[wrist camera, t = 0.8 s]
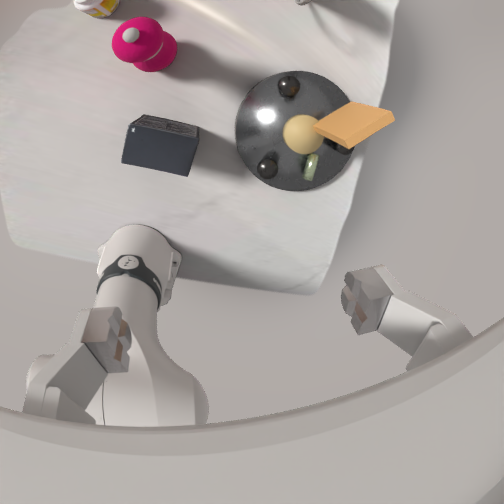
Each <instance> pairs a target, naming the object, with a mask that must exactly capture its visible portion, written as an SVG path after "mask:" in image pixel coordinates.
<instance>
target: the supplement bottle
mask: <svg viewBox="0 0 504 504" xmlns="http://www.w3.org/2000/svg"><path fill="white" fill-rule="evenodd" d="M74 5H75V7H76V8H77V9H78V10H80V11H82V12H85V13H86V14H89V15H91V16H92V17H95V18H104V17H107V16H109V15H111V14H112V13H113V12H114V11H115V10H116V9H117V7H118V5H119V0H74Z"/></svg>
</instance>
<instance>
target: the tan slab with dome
mask: <svg viewBox="0 0 504 504" xmlns="http://www.w3.org/2000/svg"><path fill="white" fill-rule="evenodd" d="M394 120H395V119H394V117H393V114H392V112H391V111H388V110H384V109H381V108H377V107H373V106H369V105H365V104H360V103H356V102H349V103H348V104H346V105H344V106H343V107H341V108H339V109H337V110H336V111H334V112H332V113H331V114H329V115H327V116H326V117H324V118H323V119H321V120H319V121H318V120H317V119H316V118H314V117H311V116H309V115H305V114H298V115H295V116H293V117H291V118H290V119H288V120H287V122H286V123H285V125H284V127H283V139H284V142H285V143H286V145H287V146H288V147H289V148H291V149H292V150H293V151H295V152H297V153H299V154H310V153H312V152H314V151H316V150H317V149H318V148H319V147H320V146H321V144H322V142H323V140H324V136H325V137H327V138H329V139H331V140H333V141H334V142H336V143H338V144H340V145H342V146H344V147H346V148H348V149H350V148H352V147H353V146H355V145H356V144H358V143H360V142H361V141H363V140H364V139H366V138H367V137H369V136H371V135H372V134H374V133H375V132H377V131H379V130H380V129H382V128H383V127H385V126H386V125H388V124H390V123H391V122H393V121H394Z"/></svg>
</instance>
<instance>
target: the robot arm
mask: <svg viewBox="0 0 504 504" xmlns="http://www.w3.org/2000/svg"><path fill="white" fill-rule="evenodd" d="M98 256H99V259H100V262H99V265H98V269H97V274H98V275H99V278H100V279H99V282H98V286H97V297H96V300H95V303H94V306H93V308H92V309H82V310H81V311H80V312H79V314H78V317H77V320H76V323H75V326H74V329H73V332H72V335H71V338H70V341H69V343H68V344H65V345H64V346H63V347H62V348H61V349H60V350H59V351H58V352H57V353H56V354H53V355H40V356H38V357H37V358H36V359H35V360H34V361H33V363H32V364H31V366H30V368H29V371H28V374H27V379H26V390H27V394H26V398H25V402H24V407H23V411H22V412H18V411H14V410H11V409H7V408H3V407H0V504H504V318H502V319H501V320H499V321H498V322H497V323H495V324H493V325H492V326H490V327H489V328H487V329H486V330H484V331H483V332H481V333H480V334H478V335H477V336H475V337H473V336H472V335H471V333H470V332H469V331H468V329H467V328H466V327H465V325H464V324H463V323H462V321H461V320H460V319H459V317H458V316H457V315H456V314H454V313H452V312H450V311H448V310H446V309H444V308H442V307H440V306H438V305H436V304H434V303H432V302H430V301H428V300H426V299H424V298H422V297H420V296H418V295H416V294H414V293H412V292H410V291H405V290H404V289H403V288H402V286H401V285H400V284H399V283H398V281H397V280H396V279H395V278H394V277H393V275H392V274H391V273H390V272H389V270H388V269H387V268H386V267H385V266H384V265H378V266H373V267H370V268H365V269H360V270H355V271H350V272H347V273H346V275H345V279H344V281H345V283H346V284H347V285H346V286H345V287H344V288H343V289H342V294H341V302H342V306H343V309H344V311H345V313H346V314H348V315H350V316H351V317H352V319H351V323H352V325H353V327H354V329H355V330H356V332H357V334H358V335H361V334H364V333H368V332H372V331H376V330H377V331H378V332H379V333H381V334H382V335H383V336H385V337H386V338H387V339H389V340H390V341H392V342H393V343H394V344H396V345H397V346H399V347H400V348H401V349H403V350H404V351H405V352H407V353H408V354H410V355H411V356H412V358H411V360H410V361H409V363H408V364H407V366H406V370H407V372H405V373H403V374H400V375H398V376H396V377H393V378H391V379H389V380H386V381H383V382H381V383H378V384H376V385H373V386H370V387H367V388H365V389H362V390H359V391H356V392H353V393H350V394H347V395H344V396H341V397H337V398H334V399H331V400H327V401H324V402H321V403H317V404H313V405H309V406H305V407H301V408H297V409H293V410H289V411H284V412H280V413H275V414H270V415H265V416H259V417H254V418H247V419H241V420H234V421H226V422H218V423H210V424H206V422H207V419H208V413H209V406H208V399H207V396H206V393H205V391H204V389H203V387H202V385H201V384H200V383H199V381H198V380H197V379H196V378H195V377H194V376H193V375H192V374H191V373H189V372H187V371H185V370H184V369H182V368H181V367H180V366H178V365H177V364H176V363H175V362H174V361H173V360H172V359H170V357H169V356H168V355H167V354H166V352H165V351H164V350H163V348H162V346H161V344H160V342H159V339H158V335H157V312H158V311H159V310H160V306H163V305H165V304H167V303H168V301H169V300H170V299H171V293H172V288H173V284H174V281H175V278H176V275H177V272H178V269H179V266H180V263H181V259H182V255H181V254H180V253H179V252H178V251H176V250H175V249H173V248H172V247H171V246H170V245H169V243H168V242H167V240H166V239H165V238H164V237H163V236H162V235H161V234H160V233H159V232H158V231H156V230H154V229H152V228H150V227H147V226H144V225H128V226H124V227H122V228H120V229H118V230H117V231H116V232H115V233H114V234H113V235H112V236H111V238H110V239H109V240H108V242H106V243H104V244H103V245H101V246H100V247H99V248H98ZM174 261H175V262H176V263H174Z"/></svg>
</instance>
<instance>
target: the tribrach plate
mask: <svg viewBox="0 0 504 504" xmlns="http://www.w3.org/2000/svg"><path fill="white" fill-rule="evenodd" d="M348 103H349V100H348V98H347V97H346V95H345V94H344V93H343V91H342V90H341V89H340V88H339V87H338V86H337V85H335V84H334V83H333V82H331V81H330V80H328V79H326V78H325V77H323V76H320V75H318V74H314V73H311V72H305V71H289V72H283V73H279V74H275V75H272V76H270V77H268V78H266V79H264V80H263V81H261V82H260V83H258V84H257V85H256V86H255V87H254V88H252V89H251V91H250V92H249V93H248V94H247V95H246V97H245V98H244V100H243V101H242V103H241V105H240V108H239V110H238V113H237V116H236V122H235V139H236V144H237V148H238V151H239V153H240V155H241V157H242V159H243V161H244V163H245V164H246V166H247V167H248V168H249V170H250V171H251V172H252V173H253V174H254V175H255V176H256V177H257V178H258V179H260V180H261V181H263V182H264V183H266V184H268V185H270V186H272V187H275V188H277V189H282V190H287V191H302V190H308V189H312V188H315V187H318V186H320V185H322V184H324V183H326V182H328V181H329V180H330V179H332V178H333V177H334V176H335V175H337V174H338V173H339V172H340V171H341V169H342V168H343V167H344V166H345V164H346V163H347V161H348V160H349V158H350V156H351V154H352V151H353V150H354V146H353V147H352V148H350V149H348V148H346V147H344V146H342V145H340V144H338V143H336V142H334V141H333V140H331V139H329V138H327V137H325V136H324V140H323V142H322V144H321V146H320V147H319V148H318V149H317V150H316V151H314V152H312V153H310V154H299V153H297V152H295V151H293V150H292V149H291V148H289V147H288V146H287V145H286V143H285V142H284V139H283V127H284V125H285V123H286V122H287V120H288V119H290V118H291V117H293V116H295V115H298V114H305V115H309V116H311V117H314V118H316V119H317V120H318V121H319V120H321V119H323V118H324V117H326V116H327V115H329V114H331V113H332V112H334V111H336V110H337V109H339V108H341V107H343V106H344V105H346V104H348Z"/></svg>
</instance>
